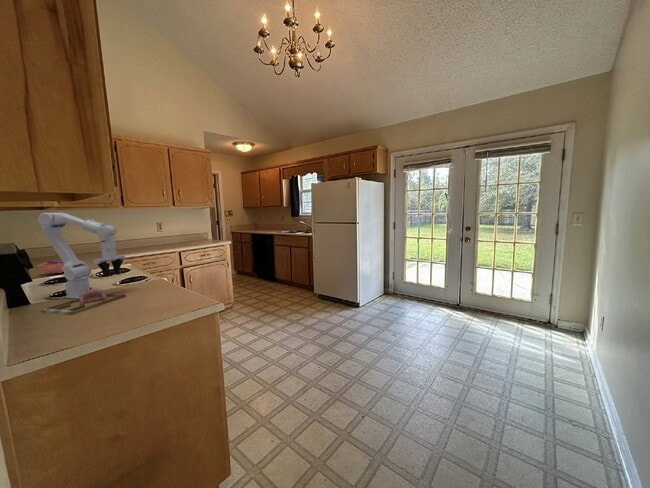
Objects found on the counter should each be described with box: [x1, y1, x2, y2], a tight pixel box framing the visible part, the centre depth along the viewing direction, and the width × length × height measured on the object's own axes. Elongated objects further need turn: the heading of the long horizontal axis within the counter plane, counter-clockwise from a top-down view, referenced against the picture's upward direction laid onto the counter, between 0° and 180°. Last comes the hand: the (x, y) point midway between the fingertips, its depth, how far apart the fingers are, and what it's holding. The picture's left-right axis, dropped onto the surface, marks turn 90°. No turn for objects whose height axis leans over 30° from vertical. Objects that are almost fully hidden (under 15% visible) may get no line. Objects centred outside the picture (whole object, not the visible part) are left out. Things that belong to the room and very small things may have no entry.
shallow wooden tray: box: [40, 292, 127, 316], centre depth 128 cm, size 18×24×1 cm
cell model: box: [36, 259, 65, 275], centre depth 197 cm, size 17×20×11 cm
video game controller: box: [78, 288, 107, 306], centre depth 131 cm, size 10×5×7 cm, turn 135°
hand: (112, 275), depth 140 cm, fingers open, 4 cm apart
